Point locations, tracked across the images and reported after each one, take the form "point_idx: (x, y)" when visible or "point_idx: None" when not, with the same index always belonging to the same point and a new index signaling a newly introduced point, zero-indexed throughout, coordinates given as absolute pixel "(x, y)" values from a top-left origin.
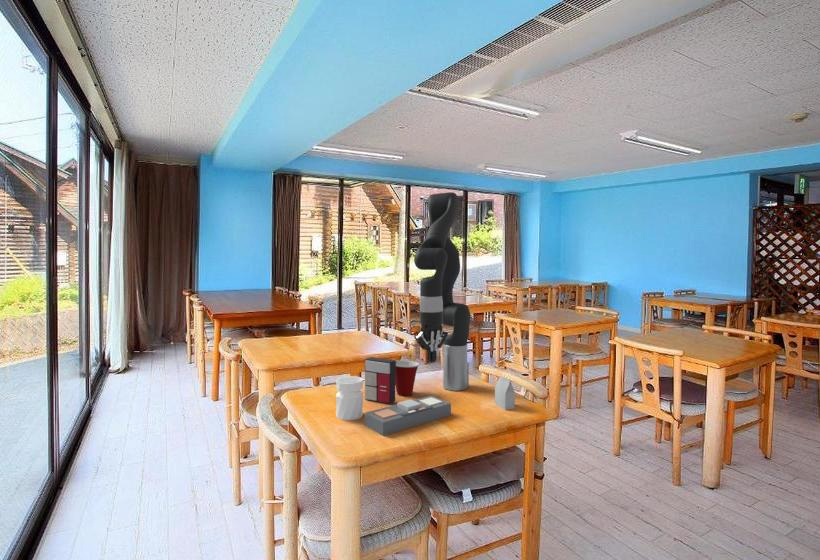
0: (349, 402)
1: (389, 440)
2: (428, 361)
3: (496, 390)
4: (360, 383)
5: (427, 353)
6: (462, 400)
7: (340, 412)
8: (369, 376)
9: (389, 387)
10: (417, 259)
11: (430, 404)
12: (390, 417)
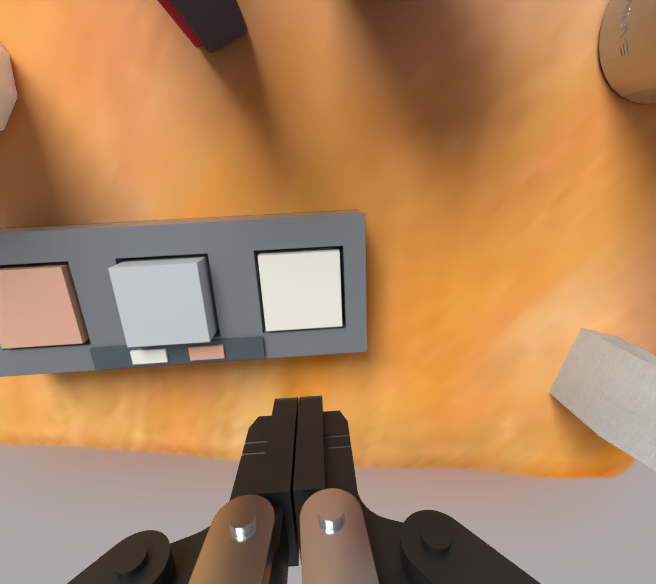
0: None
1: (42, 391)
2: (276, 401)
3: (626, 366)
4: None
5: (234, 490)
6: (522, 223)
7: None
8: None
9: (165, 6)
10: None
11: (272, 328)
12: (40, 350)
